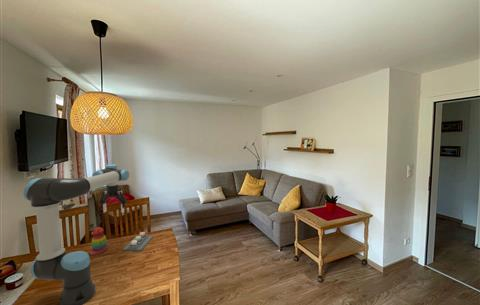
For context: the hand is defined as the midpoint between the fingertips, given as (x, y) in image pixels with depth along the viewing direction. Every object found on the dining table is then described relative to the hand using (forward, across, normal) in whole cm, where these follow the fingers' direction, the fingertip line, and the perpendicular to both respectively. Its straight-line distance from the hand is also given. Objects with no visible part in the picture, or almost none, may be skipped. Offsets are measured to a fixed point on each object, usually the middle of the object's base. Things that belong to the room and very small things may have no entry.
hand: (113, 211), depth 159 cm
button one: (+25, -16, +3) cm, 30 cm away
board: (+28, -16, -4) cm, 32 cm away
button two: (+25, -16, -4) cm, 30 cm away
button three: (+25, -16, -10) cm, 31 cm away
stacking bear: (+28, +9, +6) cm, 30 cm away
